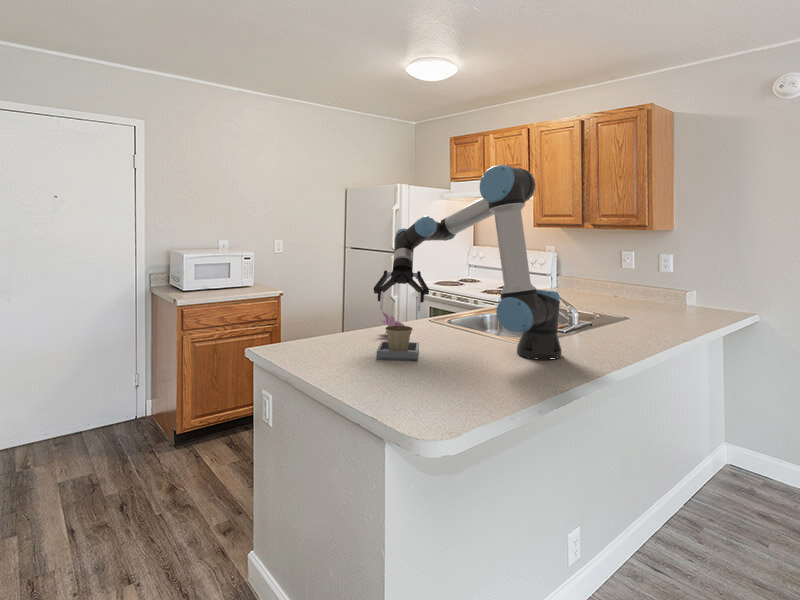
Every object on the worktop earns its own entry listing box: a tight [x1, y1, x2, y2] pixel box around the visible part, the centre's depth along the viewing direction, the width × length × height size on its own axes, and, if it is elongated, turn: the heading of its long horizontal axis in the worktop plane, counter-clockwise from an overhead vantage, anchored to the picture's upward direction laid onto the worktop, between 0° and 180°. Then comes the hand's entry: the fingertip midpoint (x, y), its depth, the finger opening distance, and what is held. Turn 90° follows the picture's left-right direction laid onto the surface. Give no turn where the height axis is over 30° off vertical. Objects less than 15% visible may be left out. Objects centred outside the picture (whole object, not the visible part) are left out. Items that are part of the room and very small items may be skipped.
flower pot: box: [384, 325, 414, 351], centre depth 173 cm, size 9×9×9 cm
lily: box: [380, 310, 406, 338], centre depth 202 cm, size 12×12×10 cm
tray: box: [376, 340, 420, 362], centre depth 173 cm, size 14×14×3 cm
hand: (400, 308), depth 179 cm, fingers open, 13 cm apart
